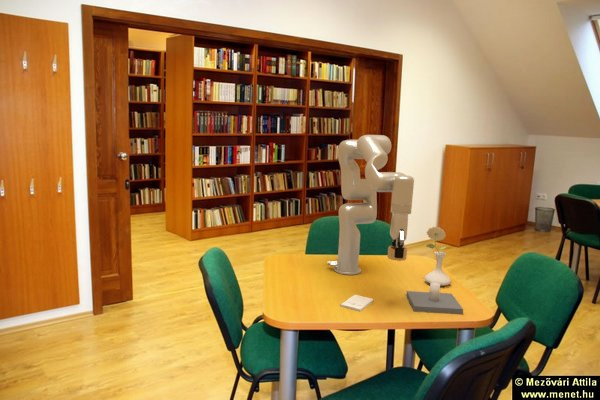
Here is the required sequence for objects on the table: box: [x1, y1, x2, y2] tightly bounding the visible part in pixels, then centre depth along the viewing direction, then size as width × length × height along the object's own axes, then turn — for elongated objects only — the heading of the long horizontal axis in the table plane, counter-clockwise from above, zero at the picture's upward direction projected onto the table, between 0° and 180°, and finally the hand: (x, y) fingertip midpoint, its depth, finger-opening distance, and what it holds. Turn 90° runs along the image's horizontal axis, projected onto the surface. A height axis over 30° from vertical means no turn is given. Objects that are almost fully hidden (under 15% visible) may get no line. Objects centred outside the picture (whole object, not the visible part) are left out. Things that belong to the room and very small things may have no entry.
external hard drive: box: [339, 294, 374, 312], centre depth 186 cm, size 2×8×12 cm
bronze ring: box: [387, 244, 408, 262], centre depth 184 cm, size 7×7×4 cm
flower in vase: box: [423, 226, 452, 287], centre depth 212 cm, size 13×11×25 cm
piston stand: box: [405, 282, 464, 315], centre depth 188 cm, size 18×16×8 cm
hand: (397, 254), depth 184 cm, fingers closed on bronze ring, 6 cm apart
